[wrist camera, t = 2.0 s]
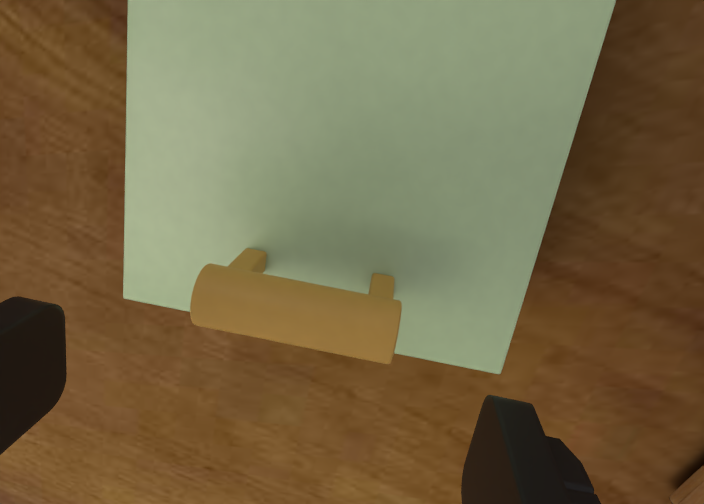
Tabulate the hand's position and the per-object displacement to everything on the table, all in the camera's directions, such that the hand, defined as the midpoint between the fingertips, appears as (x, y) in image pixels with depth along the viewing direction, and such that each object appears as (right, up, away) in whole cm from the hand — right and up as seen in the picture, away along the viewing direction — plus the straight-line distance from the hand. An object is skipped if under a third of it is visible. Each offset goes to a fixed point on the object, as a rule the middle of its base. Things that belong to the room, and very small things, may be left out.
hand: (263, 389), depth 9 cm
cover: (+2, +8, +5) cm, 9 cm away
